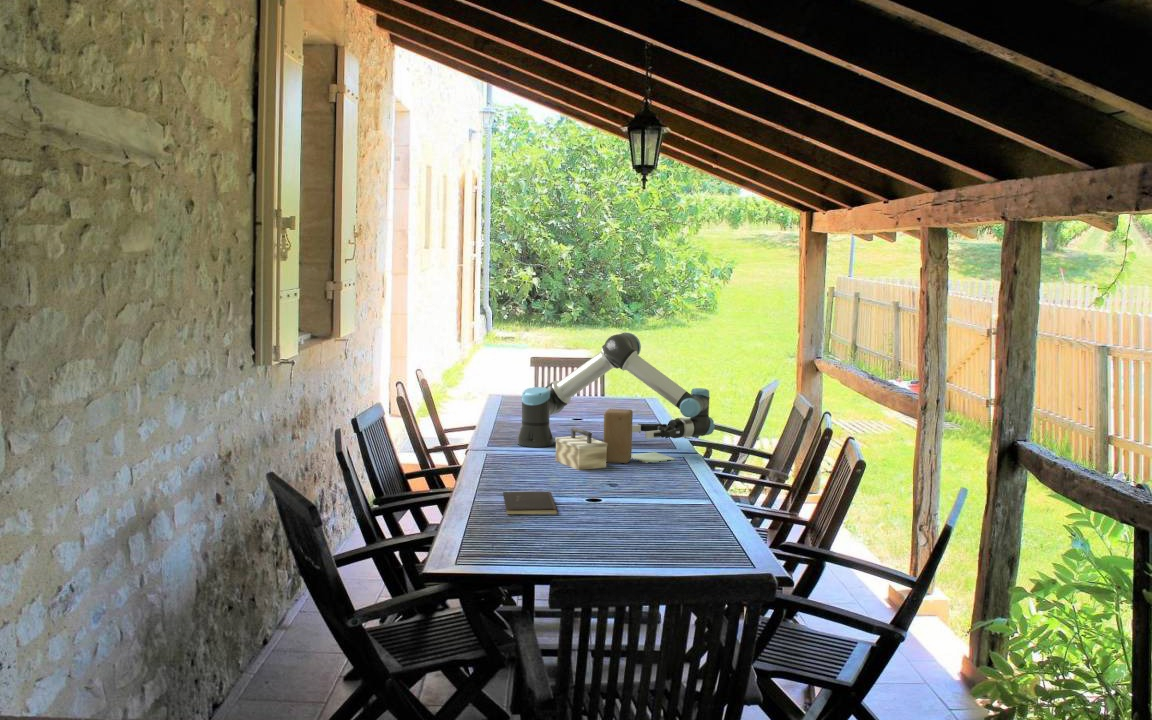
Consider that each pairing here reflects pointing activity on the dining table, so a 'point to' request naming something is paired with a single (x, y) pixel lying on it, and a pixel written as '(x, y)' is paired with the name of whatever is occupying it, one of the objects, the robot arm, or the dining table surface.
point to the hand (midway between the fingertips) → (636, 432)
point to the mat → (651, 457)
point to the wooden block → (618, 435)
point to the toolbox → (581, 451)
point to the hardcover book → (529, 503)
